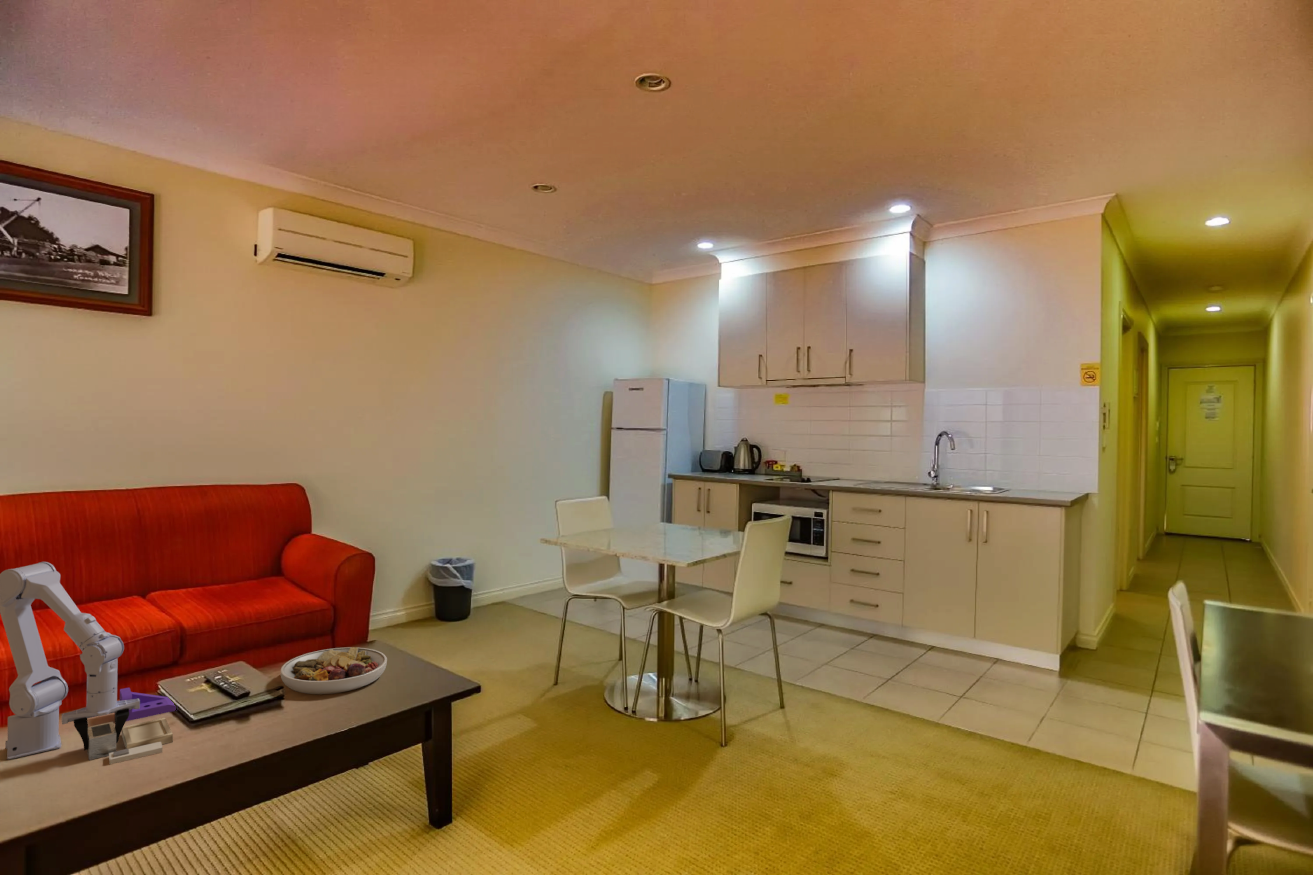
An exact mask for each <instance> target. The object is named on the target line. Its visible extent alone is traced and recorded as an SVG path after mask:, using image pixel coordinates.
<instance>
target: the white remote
mask: <svg viewBox="0 0 1313 875" xmlns="http://www.w3.org/2000/svg"><path fill="white" fill-rule="evenodd" d="M163 751H164V750H163V744H162V743H161V742H156V743H152V744H147V745H143V746H139V747H134V748H130V749H126V748H125V749H120V750H116V752H112V753H109V756H108V763H109V765H114V764H117V763H123V762H127V761H131V760H136V759H139V758H146V757H148V756H153V755H157V754H162V753H163Z"/></svg>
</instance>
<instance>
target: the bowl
mask: <svg viewBox="0 0 1313 875" xmlns="http://www.w3.org/2000/svg"><path fill="white" fill-rule="evenodd" d="M387 662H388V658H387V656H386V655H385V654H384V653H383V652H381V651H379V650H376V649H373V648H365V647H356V646H355V647H354V646H353V647H335V648H327V649H321V650H317V651H315V650H314V651H312V652H307V653H303V654H302V655H298V656H296V657H293V658H291V659H290V660H288V661H286V662H285V663H284V664H283V665H281V668H280V678H281V680H282V682H283V684H284V685H285V686H286V687H287V688H289V690H292V691H295V692H297V693H302V694H309V695H329V694H339V693H346V692H350V691H353V690H356V689H360V688H363V687H365V686H368V685H369V684H371V683H373V682H375V681H376V680H378V679H379V678H380V677H381V676H382V674H383V673H384V672H385V670H386V667H387V664H388V663H387Z"/></svg>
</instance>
